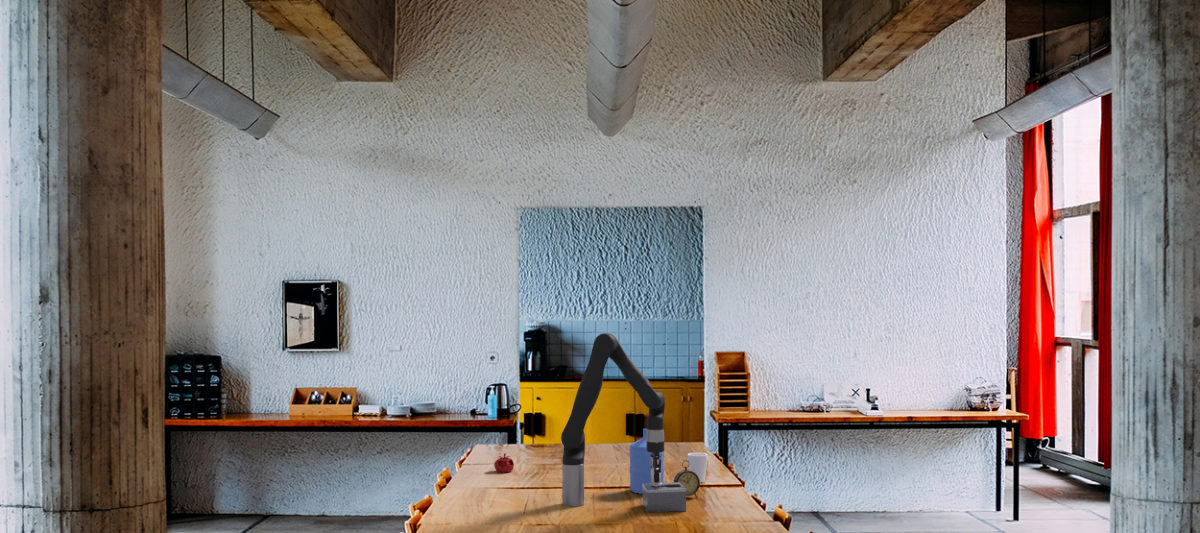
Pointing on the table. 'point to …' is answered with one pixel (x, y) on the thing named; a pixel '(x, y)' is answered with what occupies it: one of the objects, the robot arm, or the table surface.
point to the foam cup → (698, 464)
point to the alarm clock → (688, 481)
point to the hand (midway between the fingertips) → (655, 481)
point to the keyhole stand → (664, 497)
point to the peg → (653, 479)
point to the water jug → (641, 465)
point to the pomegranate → (504, 464)
